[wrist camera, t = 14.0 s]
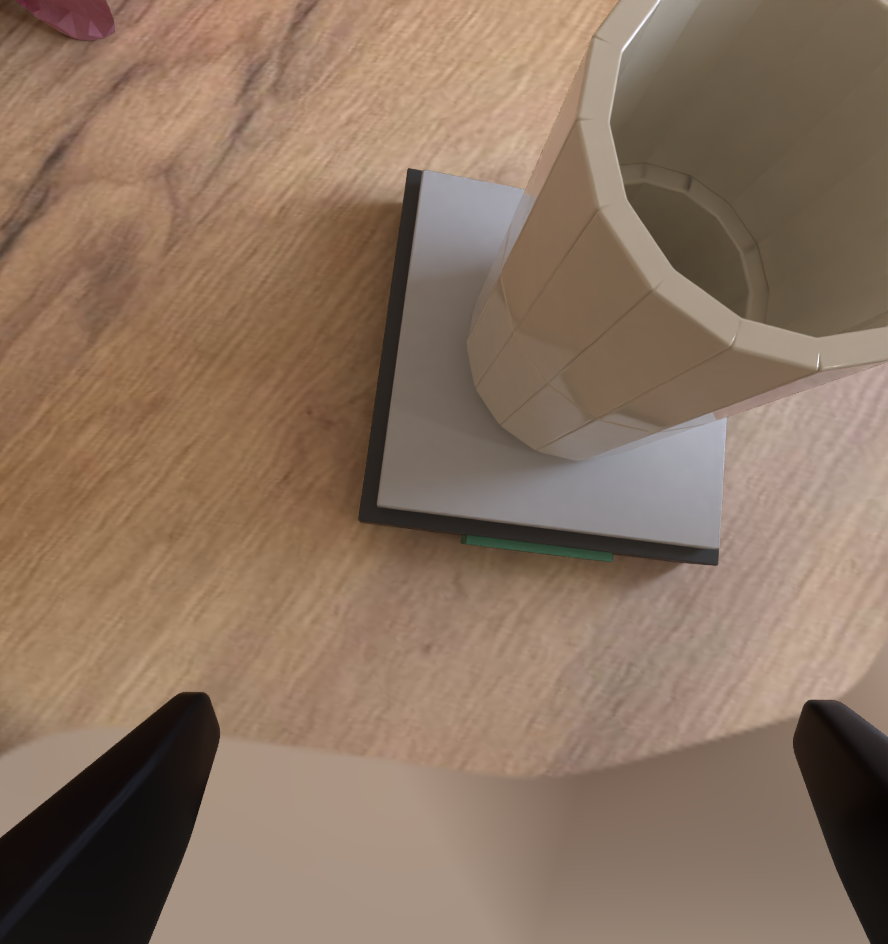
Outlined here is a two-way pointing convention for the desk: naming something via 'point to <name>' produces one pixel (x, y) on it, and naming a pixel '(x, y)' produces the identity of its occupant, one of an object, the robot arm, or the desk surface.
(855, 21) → the beige cylindrical cup
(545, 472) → the scale
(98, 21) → the flower
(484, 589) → the desk surface
